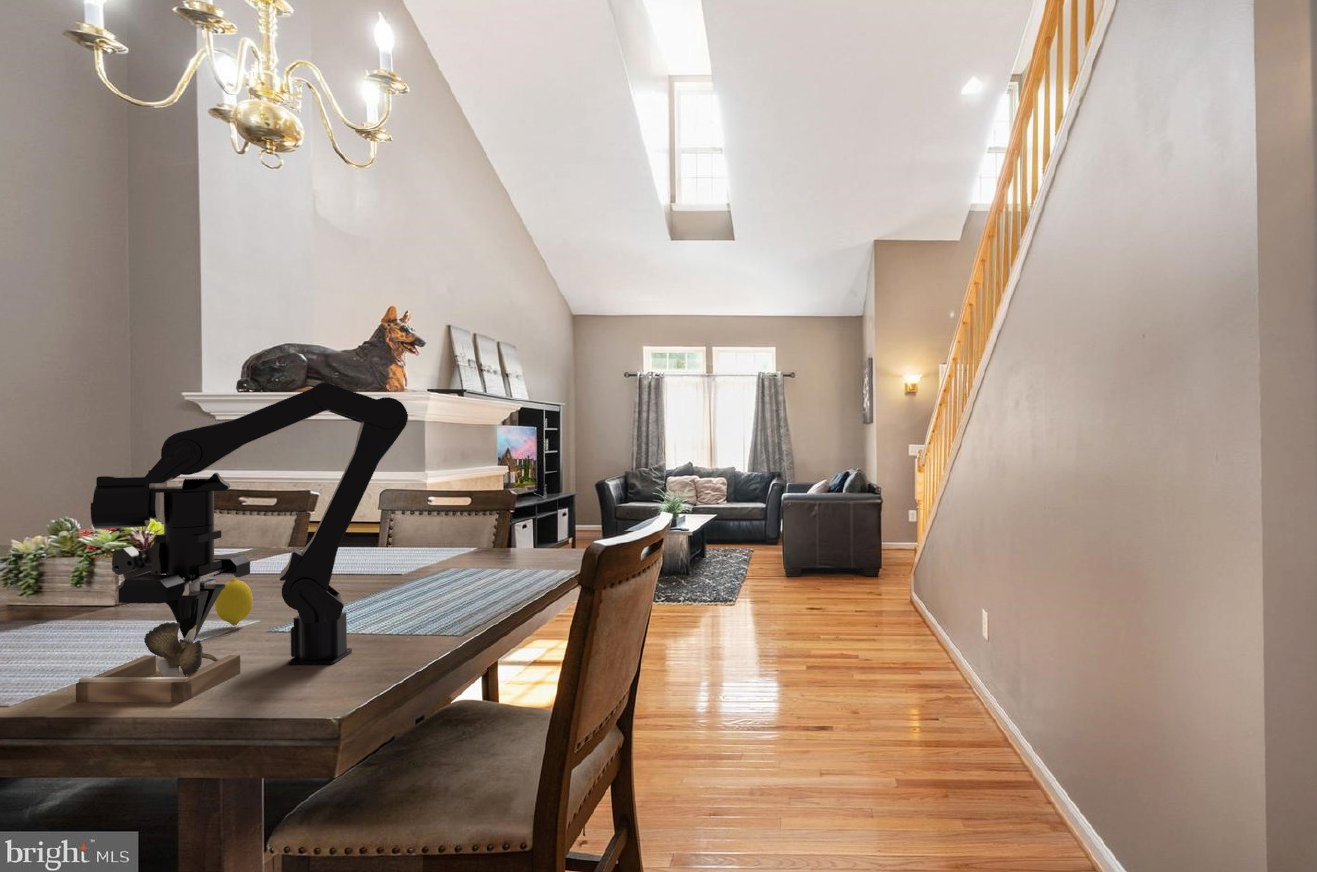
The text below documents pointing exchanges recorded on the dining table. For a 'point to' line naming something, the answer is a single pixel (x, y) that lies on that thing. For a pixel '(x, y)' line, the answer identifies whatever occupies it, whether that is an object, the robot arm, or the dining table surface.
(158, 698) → the wooden tray
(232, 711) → the dining table surface
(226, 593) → the lemon
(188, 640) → the eagle figurine
